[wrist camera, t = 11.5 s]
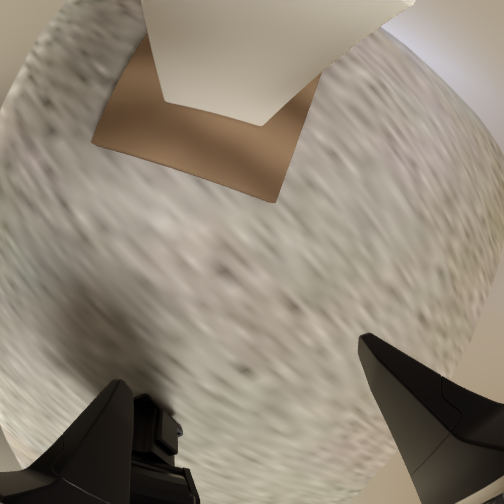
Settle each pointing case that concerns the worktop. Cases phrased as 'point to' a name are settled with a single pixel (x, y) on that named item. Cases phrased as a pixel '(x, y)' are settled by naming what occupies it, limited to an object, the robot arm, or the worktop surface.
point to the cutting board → (200, 133)
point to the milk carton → (253, 48)
